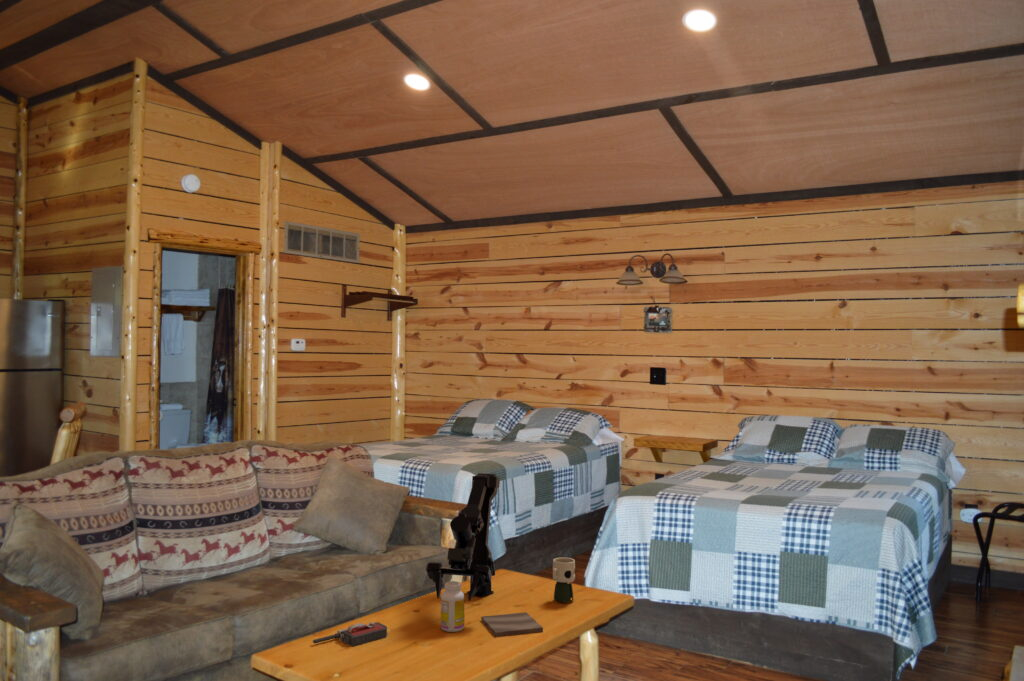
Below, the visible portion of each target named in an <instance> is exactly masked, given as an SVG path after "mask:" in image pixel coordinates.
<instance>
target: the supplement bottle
mask: <svg viewBox="0 0 1024 681" xmlns="http://www.w3.org/2000/svg"><path fill="white" fill-rule="evenodd" d="M461 589H462V583H461V582H460V581H455V580H452V581H446V582H444V591H443V592H441V594H440V629H441V630H442V631H444V632H448V633H457V632H460V631H462V630H463V629H465V594H464V592H463V591H461Z"/></svg>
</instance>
